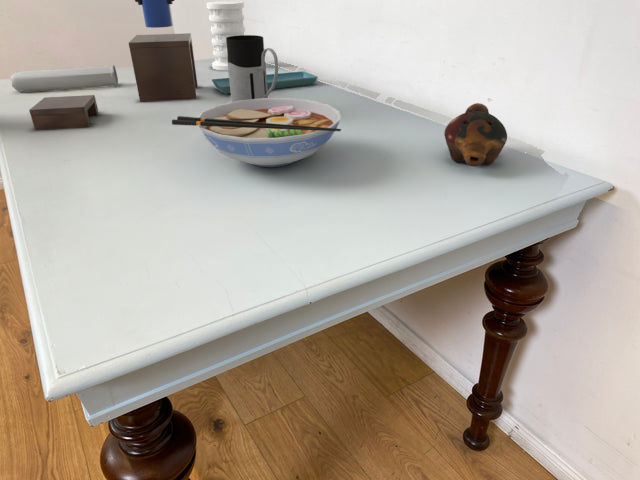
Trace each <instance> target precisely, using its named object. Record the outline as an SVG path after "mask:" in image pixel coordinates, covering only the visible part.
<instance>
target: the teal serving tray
mask: <svg viewBox="0 0 640 480" xmlns="http://www.w3.org/2000/svg"><path fill="white" fill-rule="evenodd" d="M266 76H267V90H269V89H270V88H271V86H272V83H273V79H274V73H268V74H267V73H266ZM318 78H319V77H318V76H317V75H315V74H312V73H310V72H308V71H303V70H302V71H291V72H290V71H289V72H280V73H279V72H278V77H277V81H276V84H275V87H274V89H273V90H275V89H276V90H277V89H284V88H293V87H302V86H313V85H315V83H316V82H317V80H318ZM211 82H212V83H213V85H214V86H215V89H217V90H218V91H219V92H221V93H223V94H224V95H226V94H227V95H228V94H231V92H230V81H229V77H225V78H224V77H223V78H221V77H220V78H213V79H211Z"/></svg>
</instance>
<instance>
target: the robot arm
mask: <svg viewBox="0 0 640 480" xmlns="http://www.w3.org/2000/svg"><path fill="white" fill-rule="evenodd" d="M134 2H135V3H137V5H138V6H142V2H141V0H134ZM168 2H169V5H173V2H175V0H168Z"/></svg>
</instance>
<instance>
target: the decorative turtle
mask: <svg viewBox="0 0 640 480" xmlns="http://www.w3.org/2000/svg"><path fill="white" fill-rule="evenodd" d="M444 140H445V142H446V143H445V144H446V146H447V149H448V152H449V155H450V158H451V161H452V162H454V163H460V162H462V161H463V160H464V161H465V163H466V164H467V165H469V166H472V167H479V166H481V165H482V164H483V163H484V164H485V165H492V164H493V163H494V162H495V161H496V159H497V158H498V157H499V155H500V154H501V152H502V151H503V149H504V147H505V145H506V143H507V142H508V141H507V140H508V132H507V129H506V127H505V125H504V124H503V123H502V121H501V120H500V119H498V117H496V116H494V115H493V114H491V113H490V112H489V108H488V106H486V105H485V104H483V103H479V102H477V103H473V104H471V105H469V106H468V107H467V108H466V110H465V112H464V113H461V114H459V115H457V116H456V117H454V118H453V119H452V120H450V122H449V123H448V124H447V125H446V126H445V128H444Z"/></svg>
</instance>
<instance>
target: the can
mask: <svg viewBox="0 0 640 480" xmlns="http://www.w3.org/2000/svg"><path fill="white" fill-rule="evenodd" d="M141 2H142V5H141V8H142V13H143V18H144V24H145V27H146V28H151V29H153V28H154V29H155V28H158V29H159V28H170V27H173V19H172V12H171V4H169V2H168V0H141Z"/></svg>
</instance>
